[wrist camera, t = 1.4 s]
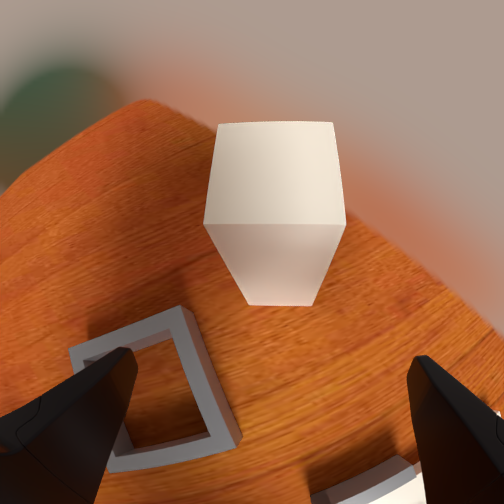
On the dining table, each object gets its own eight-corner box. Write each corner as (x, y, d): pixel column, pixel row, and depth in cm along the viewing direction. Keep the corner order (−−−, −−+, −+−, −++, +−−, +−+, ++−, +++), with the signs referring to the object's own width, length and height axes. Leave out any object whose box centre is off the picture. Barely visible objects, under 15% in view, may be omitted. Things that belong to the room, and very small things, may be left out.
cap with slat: (497, 452, 14) (517, 457, 11) (338, 550, 13) (343, 568, 10) (482, 393, 16) (503, 393, 14) (310, 495, 16) (313, 512, 13)
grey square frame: (242, 436, 18) (236, 447, 15) (128, 463, 18) (109, 473, 15) (193, 312, 22) (179, 304, 19) (89, 352, 21) (68, 348, 18)
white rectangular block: (311, 306, 21) (346, 224, 9) (248, 305, 22) (203, 224, 10) (311, 247, 23) (332, 122, 11) (252, 247, 23) (218, 123, 11)
